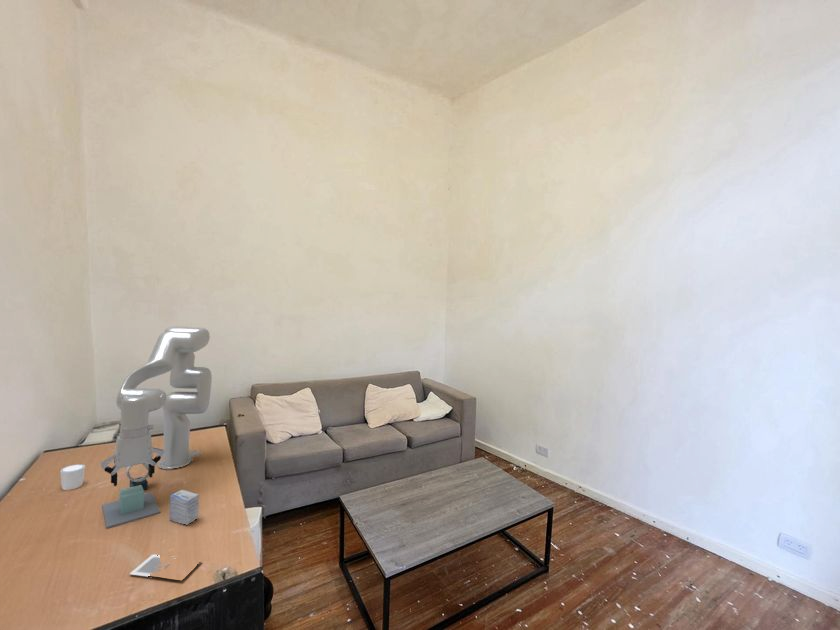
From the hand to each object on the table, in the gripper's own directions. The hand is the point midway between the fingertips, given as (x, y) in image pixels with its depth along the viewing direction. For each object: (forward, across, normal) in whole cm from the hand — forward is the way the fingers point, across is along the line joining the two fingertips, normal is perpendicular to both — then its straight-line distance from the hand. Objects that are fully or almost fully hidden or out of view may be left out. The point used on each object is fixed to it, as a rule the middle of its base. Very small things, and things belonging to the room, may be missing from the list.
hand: (133, 480), depth 127 cm
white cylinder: (+11, +14, -30) cm, 35 cm away
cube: (+9, 0, +1) cm, 9 cm away
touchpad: (+10, -3, +40) cm, 41 cm away
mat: (+10, 0, +1) cm, 10 cm away
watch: (+11, -4, -14) cm, 18 cm away
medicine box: (+10, -12, +18) cm, 23 cm away
